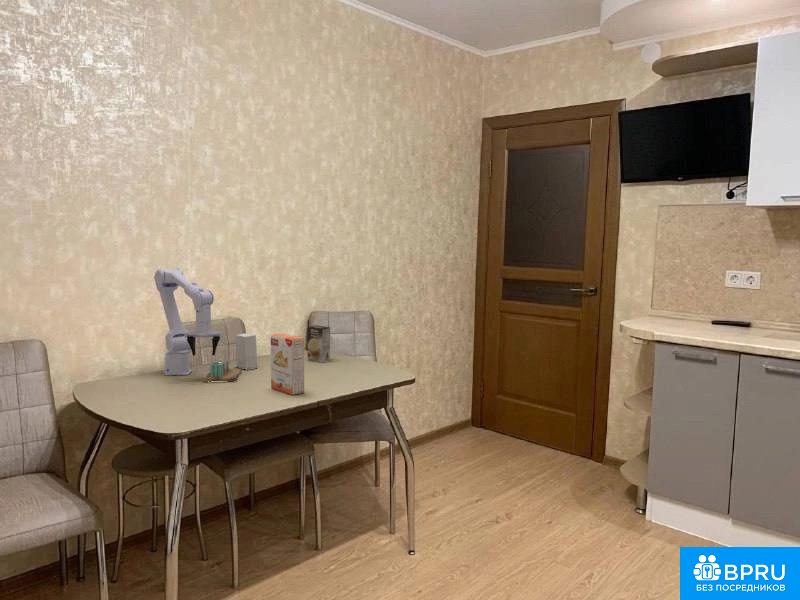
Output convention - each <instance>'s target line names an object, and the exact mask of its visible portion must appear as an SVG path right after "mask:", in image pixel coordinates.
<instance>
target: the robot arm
mask: <svg viewBox="0 0 800 600" xmlns="http://www.w3.org/2000/svg"><path fill="white" fill-rule="evenodd" d="M153 279H154V282H155V286H156V290H157V291H158V292H159V296H160V300H161V302H162V307H163V310H164V314H165V318H166V321H167V324H168V325H167V326H168V329H169V331H168V332H167V334H166V335H165V336H164V338H165V348H166V350H167V351H168V352H165V354H164V375H165V376H176V375H177V376H184V375H186V376H188V375H189V374H190V373H191V372H193V369H190V352H191V354H192V356H193V357H194V356H196V338H211V342H212V356H215V355H216V352H217V351H216V350H217V346H218V343H219V342H220V340H221V338H223V337H224V336H223V334H224V332H223V331H212V317H211V316H212V310H211V309H212V307H211V306H212V305H213V304H214V301H215V297H214V294H213V292H212V291H211V290H204V288H203V287H201V286H199V284H198V283H197V282H196V281H190V280H188V279H187V277H186V276H184V272H183V270H181V269H180V268H165V269H162V268H158V269H156V271H155V272H154V277H153ZM179 287H180V288H182V289H183V292H184V294H185V295H187V296H188V297H189V298H190V299H191V300H192V304H193V309H194V311H195V331H189V330H188V329H186V328H184V327H183V324H182V323H183V322H182V320H181V316H180V313H179V309H178V305H177V301H176V297H175V294H174V293H175V291H176V290H178V288H179Z"/></svg>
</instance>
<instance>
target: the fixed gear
mask: <svg viewBox="0 0 800 600" xmlns="http://www.w3.org/2000/svg"><path fill="white" fill-rule="evenodd" d="M212 362H223V372H226V371H229V369H230V366H229V365H230V364H229V360H227V359H222V358H219V359H218V360H213V361H212Z"/></svg>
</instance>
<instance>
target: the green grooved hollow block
mask: <svg viewBox="0 0 800 600" xmlns="http://www.w3.org/2000/svg"><path fill="white" fill-rule="evenodd" d="M209 368H210V369H209V370H210V371H209V373H210V377H222V376H223V375H224V373H223V362H213V361H212V362H211V363H210V365H209Z"/></svg>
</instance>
